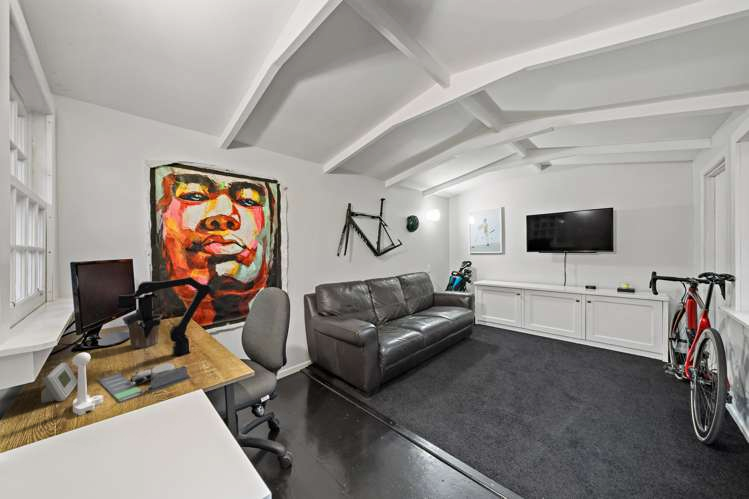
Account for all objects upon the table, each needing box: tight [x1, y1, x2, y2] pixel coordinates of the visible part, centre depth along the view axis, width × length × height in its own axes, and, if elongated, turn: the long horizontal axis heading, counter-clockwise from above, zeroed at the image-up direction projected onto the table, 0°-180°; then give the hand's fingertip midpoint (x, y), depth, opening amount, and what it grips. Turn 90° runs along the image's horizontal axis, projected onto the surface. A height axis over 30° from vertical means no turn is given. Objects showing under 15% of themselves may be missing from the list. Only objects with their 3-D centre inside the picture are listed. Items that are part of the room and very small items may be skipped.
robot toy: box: [130, 360, 176, 386], centre depth 119 cm, size 12×4×15 cm
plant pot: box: [127, 314, 163, 349], centre depth 160 cm, size 16×16×16 cm
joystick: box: [72, 352, 104, 416], centre depth 99 cm, size 11×8×20 cm
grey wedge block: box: [147, 365, 191, 393], centre depth 115 cm, size 14×4×5 cm, turn 147°
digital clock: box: [40, 362, 78, 403], centre depth 107 cm, size 16×9×11 cm, turn 24°
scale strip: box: [97, 372, 145, 404], centre depth 112 cm, size 7×31×1 cm, turn 57°
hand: (146, 337), depth 137 cm, fingers closed
